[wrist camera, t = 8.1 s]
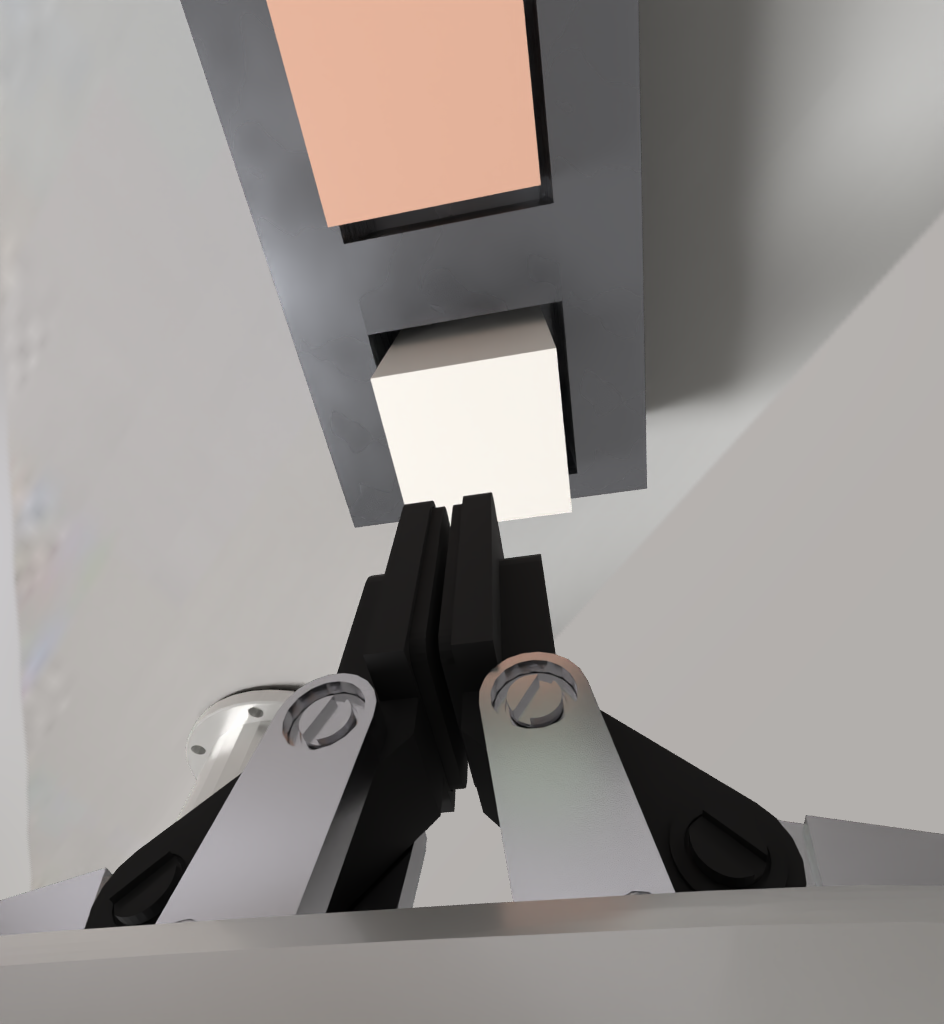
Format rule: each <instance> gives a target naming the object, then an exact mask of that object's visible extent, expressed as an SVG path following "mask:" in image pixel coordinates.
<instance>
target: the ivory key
mask: <svg viewBox="0 0 944 1024" xmlns="http://www.w3.org/2000/svg"><path fill="white" fill-rule="evenodd" d="M370 379H371V383H372V387H373V390H374V394H375V398H376V401H377V405H378V409H379V412H380V416H381V420H382V424H383V427H384V431H385V435H386V438H387V442H388V446H389V449H390V453H391V457H392V460H393V464H394V468H395V472H396V475H397V479H398V483H399V486H400V490H401V494H402V497H403V501H404V504H411V503H418V502H425V501H432V500H433V501H434V503H435V505H436V507H443V506H445V507H446V510H447V513H448V518H449V522H450V526H451V517H452V508H453V505H457V504H462V500H463V496H468V495H475V494H482V493H489V492H492V494H493V498H494V504H495V509H496V515H497V521H498V522H500V521H507V520H515V519H522V518H530V517H538V516H545V515H553V514H560V513H568V512H572V506H571V496H570V486H569V475H568V465H567V455H566V444H565V434H564V424H563V413H562V403H561V392H560V382H559V372H558V361H557V351H556V346H555V344H554V341H553V338H552V336H551V333H550V331H549V328H548V326H547V323H546V321H545V318H544V315H543V313H542V310H541V308H540V305H536V306H530V307H525V308H519V309H513V310H508V311H502V312H496V313H490V314H485V315H479V316H473V317H468V318H462V319H456V320H450V321H445V322H439V323H433V324H428V325H422V326H416V327H410V328H405V329H401V331H400V332H399V334H398V335H397V337H396V339H395V340H394V342H393V343H392V345H391V347H390V348H389V350H388V351H387V353H386V355H385V356H384V358H383V359H382V361H381V362H380V364H379V366H378V367H377V369H376V370H375V372H374V374H373V375H372V377H371V378H370Z"/></svg>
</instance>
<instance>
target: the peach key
mask: <svg viewBox="0 0 944 1024" xmlns="http://www.w3.org/2000/svg"><path fill="white" fill-rule="evenodd" d="M266 1H267V5H268V9H269V12H270V16H271V20H272V23H273V27H274V31H275V34H276V38H277V42H278V45H279V49H280V53H281V56H282V60H283V64H284V67H285V71H286V75H287V78H288V82H289V86H290V90H291V93H292V97H293V101H294V104H295V108H296V112H297V115H298V119H299V123H300V126H301V130H302V134H303V137H304V141H305V145H306V148H307V152H308V156H309V159H310V163H311V167H312V170H313V174H314V178H315V181H316V185H317V189H318V192H319V196H320V200H321V203H322V207H323V211H324V214H325V218H326V222H327V225H328V227H333V226H338V225H343V224H348V223H353V222H358V221H363V220H368V219H373V218H378V217H383V216H388V215H393V214H398V213H403V212H408V211H413V210H418V209H423V208H428V207H433V206H438V205H443V204H448V203H453V202H458V201H463V200H468V199H473V198H478V197H483V196H488V195H493V194H498V193H503V192H508V191H513V190H518V189H523V188H528V187H533V186H538V185H541V181H540V171H539V161H538V150H537V140H536V130H535V119H534V109H533V98H532V88H531V78H530V67H529V57H528V46H527V36H526V26H525V15H524V5H523V0H266Z"/></svg>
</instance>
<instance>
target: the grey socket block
mask: <svg viewBox="0 0 944 1024" xmlns="http://www.w3.org/2000/svg"><path fill="white" fill-rule="evenodd" d="M180 1H181V4H182V7H183V10H184V13H185V16H186V19H187V22H188V25H189V28H190V31H191V34H192V37H193V40H194V43H195V46H196V49H197V52H198V55H199V58H200V61H201V64H202V67H203V70H204V73H205V76H206V79H207V82H208V85H209V88H210V91H211V94H212V97H213V100H214V103H215V106H216V109H217V112H218V115H219V118H220V121H221V124H222V127H223V130H224V134H225V137H226V140H227V143H228V146H229V149H230V152H231V155H232V158H233V161H234V164H235V167H236V170H237V173H238V176H239V179H240V182H241V185H242V188H243V191H244V194H245V197H246V200H247V203H248V206H249V209H250V212H251V215H252V218H253V221H254V224H255V227H256V230H257V233H258V236H259V239H260V242H261V245H262V248H263V251H264V254H265V257H266V260H267V264H268V267H269V270H270V273H271V276H272V279H273V282H274V285H275V288H276V291H277V294H278V297H279V300H280V303H281V306H282V309H283V312H284V315H285V318H286V321H287V324H288V327H289V330H290V333H291V336H292V339H293V342H294V345H295V348H296V351H297V354H298V357H299V360H300V363H301V366H302V369H303V372H304V375H305V378H306V381H307V384H308V387H309V390H310V393H311V397H312V400H313V403H314V406H315V409H316V412H317V415H318V418H319V421H320V424H321V427H322V430H323V433H324V436H325V439H326V442H327V445H328V448H329V451H330V454H331V457H332V460H333V463H334V466H335V469H336V472H337V475H338V478H339V481H340V484H341V487H342V490H343V493H344V496H345V499H346V502H347V505H348V508H349V511H350V514H351V517H352V520H353V523H354V526H355V527H363V526H370V525H378V524H385V523H392V522H399V520H400V516H401V512H402V509H403V506H404V501H403V497H402V494H401V490H400V486H399V483H398V479H397V475H396V472H395V468H394V464H393V460H392V457H391V453H390V449H389V446H388V442H387V438H386V435H385V431H384V427H383V424H382V420H381V416H380V412H379V409H378V405H377V401H376V398H375V394H374V390H373V387H372V383H371V379H370V378H371V377H372V375H373V374H374V372H375V370H376V369H377V367H378V366H379V364H380V362H381V361H382V359H383V358H384V356H385V355H386V353H387V351H388V350H389V348H390V347H391V345H392V343H393V342H394V340H395V339H396V337H397V335H398V334H399V332H400V331H401V329H405V328H410V327H416V326H422V325H428V324H433V323H439V322H445V321H450V320H456V319H462V318H468V317H473V316H479V315H485V314H490V313H496V312H502V311H508V310H513V309H519V308H525V307H530V306H536V305H540V308H541V310H542V313H543V315H544V318H545V321H546V323H547V326H548V328H549V331H550V333H551V336H552V338H553V341H554V344H555V346H556V351H557V361H558V372H559V382H560V392H561V403H562V413H563V424H564V434H565V444H566V455H567V465H568V475H569V486H570V496H571V498H579V497H586V496H593V495H601V494H608V493H616V492H623V491H631V490H638V489H646V488H647V465H646V407H645V350H644V292H643V234H642V176H641V119H640V61H639V3H638V0H523V5H524V15H525V26H526V36H527V46H528V57H529V67H530V78H531V88H532V98H533V109H534V119H535V130H536V140H537V150H538V161H539V171H540V181H541V185H538V186H533V187H528V188H523V189H518V190H513V191H508V192H503V193H498V194H493V195H488V196H483V197H478V198H473V199H468V200H463V201H458V202H453V203H448V204H443V205H438V206H433V207H428V208H423V209H418V210H413V211H408V212H403V213H398V214H393V215H388V216H383V217H378V218H373V219H368V220H363V221H358V222H353V223H348V224H343V225H338V226H333V227H328V225H327V222H326V218H325V214H324V211H323V207H322V203H321V200H320V196H319V192H318V189H317V185H316V181H315V178H314V174H313V170H312V167H311V163H310V159H309V156H308V152H307V148H306V145H305V141H304V137H303V134H302V130H301V126H300V123H299V119H298V115H297V112H296V108H295V104H294V101H293V97H292V93H291V90H290V86H289V82H288V78H287V75H286V71H285V67H284V64H283V60H282V56H281V53H280V49H279V45H278V42H277V38H276V34H275V31H274V27H273V23H272V20H271V16H270V12H269V9H268V5H267V1H266V0H180Z"/></svg>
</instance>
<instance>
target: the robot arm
mask: <svg viewBox="0 0 944 1024" xmlns="http://www.w3.org/2000/svg"><path fill="white" fill-rule="evenodd" d="M186 759H187V763H188V765H189V768H190V770H191V773H192V774H193V776H194V777H195V779H196V782H195V784H194V786H193V788H192V790H191V792H190V794H189V796H188V798H187V800H186V802H185V804H184V806H183V808H182V810H181V812H180V814H179V816H178V818H177V820H176V822H175V823H174V824H173V825H171V826H170V827H169V828H167V829H166V830H165V831H163V832H162V833H161V834H159V835H158V836H157V837H155V838H154V839H153V840H151V841H150V842H149V843H147V844H146V845H145V846H143V847H142V848H140V849H139V850H138V851H137V852H135V853H134V854H133V855H132V856H131V857H130V858H129V859H127V860H126V861H125V862H124V863H123V864H122V865H121V866H120V867H119V868H118V869H117V870H116V871H115V872H114V874H113V875H112V874H111V872H110V871H109V870H108V869H107V868H103V869H100V870H96V871H93V872H90V873H87V874H83V875H80V876H77V877H74V878H71V879H67V880H64V881H61V882H58V883H54V884H51V885H48V886H45V887H42V888H38V889H35V890H32V891H29V892H25V893H22V894H19V895H16V896H13V897H10V898H6V899H3V900H0V1024H944V834H938V833H931V832H923V831H916V830H909V829H902V828H895V827H888V826H880V825H873V824H866V823H858V822H851V821H844V820H837V819H830V818H823V817H816V816H808V815H806V817H805V822H804V824H801V823H794V822H786V821H780V820H777V818H775V817H774V816H773V815H771V814H770V813H769V812H768V811H766V810H765V809H764V808H762V807H761V806H760V805H758V804H757V803H755V802H753V801H752V800H750V799H749V798H747V797H745V796H743V795H742V794H740V793H739V792H737V791H735V790H734V789H732V788H730V787H729V786H727V785H725V784H724V783H722V782H720V781H718V780H717V779H715V778H713V777H712V776H710V775H709V774H707V773H705V772H704V771H702V770H700V769H698V768H697V767H695V766H693V765H692V764H690V763H688V762H687V761H685V760H683V759H682V758H680V757H678V756H677V755H675V754H673V753H672V752H670V751H668V750H667V749H665V748H663V747H661V746H660V745H658V744H657V743H655V742H653V741H652V740H650V739H648V738H646V737H645V736H643V735H642V734H640V733H638V732H637V731H635V730H633V729H631V728H630V727H628V726H626V725H625V724H623V723H621V722H620V721H618V720H616V719H615V718H613V717H611V716H610V715H608V714H606V713H605V712H603V711H601V710H600V709H599V707H598V705H597V702H596V699H595V697H594V695H593V693H592V690H591V687H590V685H589V683H588V680H587V679H586V677H585V676H584V674H583V673H582V671H581V670H580V668H579V667H577V666H576V665H575V664H574V663H572V662H571V661H570V660H568V659H566V658H563V657H561V656H558V655H556V654H555V647H554V640H553V633H552V627H551V620H550V613H549V606H548V600H547V593H546V586H545V579H544V572H543V566H542V559H541V554H537V555H529V556H521V557H513V558H506V559H504V555H503V549H502V544H501V538H500V532H499V527H498V521H497V515H496V509H495V504H494V498H493V494H492V492H489V493H482V494H475V495H468V496H463V500H462V504H457V505H453V508H452V517H451V526H450V522H449V518H448V513H447V510H446V507H445V506H443V507H436V505H435V503H434V501H433V500H432V501H425V502H418V503H411V504H404V506H403V509H402V512H401V516H400V520H399V523H398V527H397V531H396V535H395V538H394V542H393V546H392V549H391V553H390V557H389V560H388V564H387V568H386V571H385V574H381V575H374V576H370V577H368V579H367V581H366V583H365V586H364V590H363V593H362V596H361V599H360V602H359V605H358V609H357V612H356V615H355V618H354V621H353V625H352V628H351V631H350V634H349V637H348V640H347V644H346V647H345V650H344V653H343V656H342V659H341V663H340V666H339V669H338V672H337V674H332V675H327V676H324V677H321V678H318V679H315V680H313V681H311V682H309V683H308V684H306V685H304V686H302V687H301V688H299V689H298V690H297V691H286V690H257V691H249V692H245V693H240V694H235V695H232V696H230V697H227V698H225V699H223V700H220V701H218V702H216V703H215V704H214V705H212V706H211V707H209V708H208V709H206V710H205V711H204V713H203V714H202V715H201V716H200V717H199V719H198V720H197V722H196V723H195V725H194V727H193V729H192V731H191V733H190V735H189V736H188V740H187V743H186ZM468 763H469V767H470V770H471V774H472V778H473V781H474V785H475V787H477V791H478V795H479V798H480V802H481V806H482V809H483V812H484V813H485V814H486V815H487V816H488V817H489V818H490V819H491V820H492V821H494V822H495V823H496V824H497V825H498V826H499V827H500V828H501V834H502V839H503V845H504V851H505V857H506V863H507V869H508V874H509V880H510V886H511V892H512V897H513V902H502V903H485V904H468V905H453V906H435V907H419V908H412V907H413V903H414V899H415V894H416V890H417V886H418V882H419V878H420V873H421V869H422V865H423V861H424V856H425V852H426V841H427V837H426V833H425V831H426V830H427V829H428V828H429V827H430V826H431V825H432V824H433V823H434V822H435V821H436V820H437V819H438V818H439V817H440V815H441V813H443V812H454V807H455V789H463V788H466V784H467V769H468Z"/></svg>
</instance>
